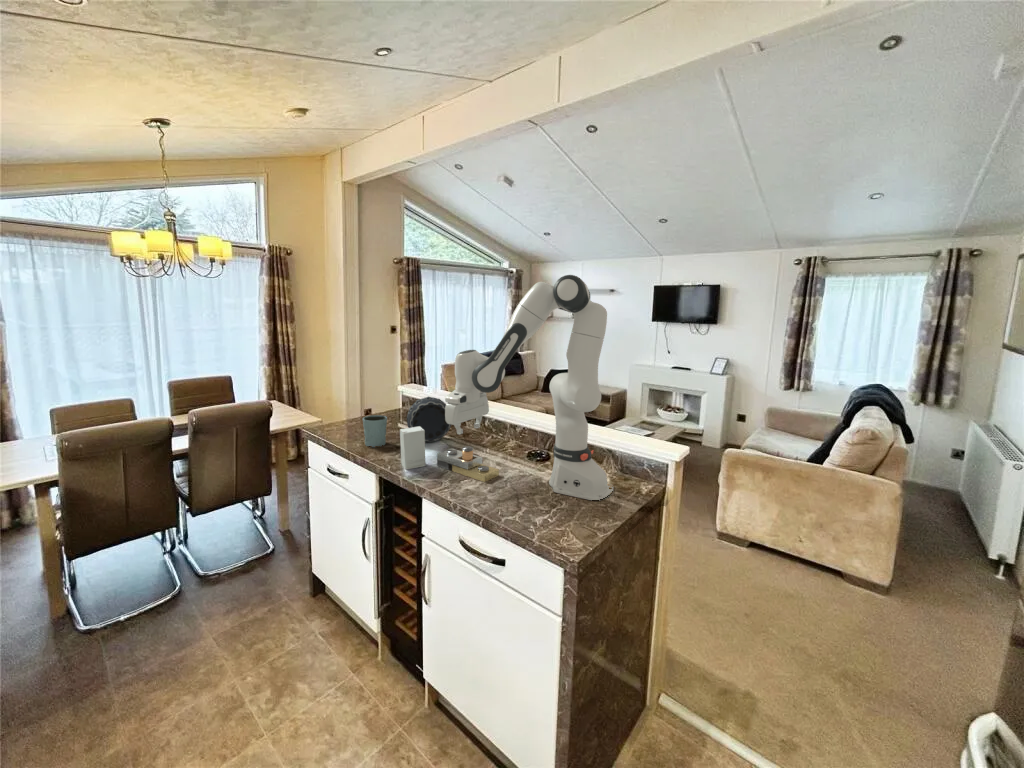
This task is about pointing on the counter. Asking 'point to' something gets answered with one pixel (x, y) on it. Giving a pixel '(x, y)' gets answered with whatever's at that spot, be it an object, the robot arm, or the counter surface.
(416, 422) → the scalloped baking dish
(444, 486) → the counter surface
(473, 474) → the chain joint
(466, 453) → the pin
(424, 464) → the skincare box
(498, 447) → the counter surface
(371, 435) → the teal plant pot
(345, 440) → the counter surface
